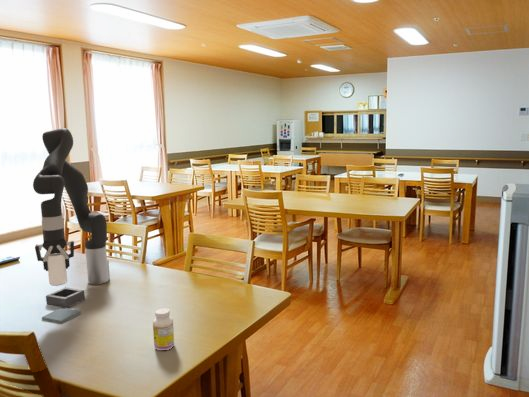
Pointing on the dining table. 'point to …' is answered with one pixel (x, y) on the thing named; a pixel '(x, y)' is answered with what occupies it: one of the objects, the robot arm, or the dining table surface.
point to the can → (56, 269)
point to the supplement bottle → (163, 330)
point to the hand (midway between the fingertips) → (57, 269)
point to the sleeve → (65, 297)
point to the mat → (61, 315)
